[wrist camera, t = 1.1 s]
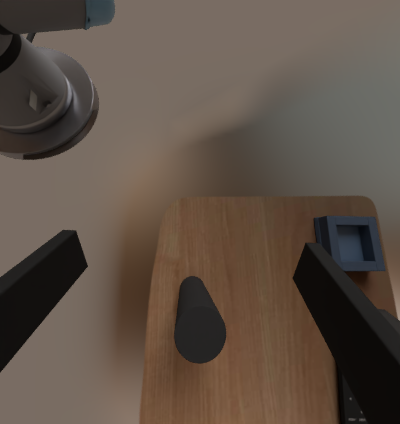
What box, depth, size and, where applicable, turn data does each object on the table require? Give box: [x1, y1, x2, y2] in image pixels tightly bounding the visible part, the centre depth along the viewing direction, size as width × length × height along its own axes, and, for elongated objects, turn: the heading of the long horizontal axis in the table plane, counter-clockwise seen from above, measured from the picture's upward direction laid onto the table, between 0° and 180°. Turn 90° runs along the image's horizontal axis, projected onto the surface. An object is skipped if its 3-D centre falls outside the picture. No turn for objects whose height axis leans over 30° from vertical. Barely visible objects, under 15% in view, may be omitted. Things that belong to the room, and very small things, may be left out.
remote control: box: [338, 366, 368, 424], centre depth 27 cm, size 5×24×1 cm, turn 175°
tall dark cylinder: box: [174, 276, 226, 363], centre depth 22 cm, size 4×4×16 cm
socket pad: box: [314, 216, 386, 271], centre depth 32 cm, size 9×9×3 cm
